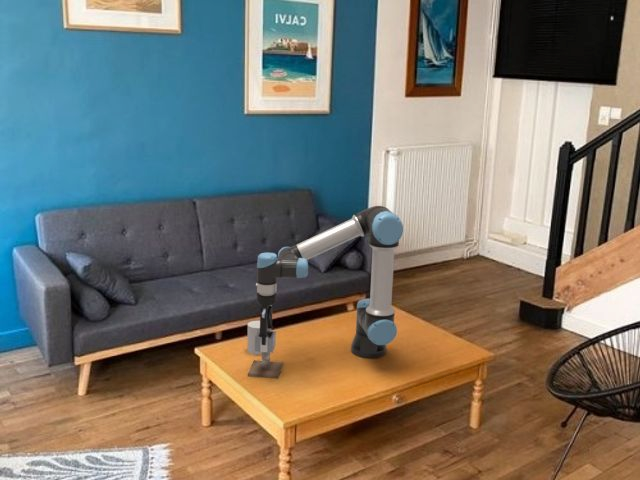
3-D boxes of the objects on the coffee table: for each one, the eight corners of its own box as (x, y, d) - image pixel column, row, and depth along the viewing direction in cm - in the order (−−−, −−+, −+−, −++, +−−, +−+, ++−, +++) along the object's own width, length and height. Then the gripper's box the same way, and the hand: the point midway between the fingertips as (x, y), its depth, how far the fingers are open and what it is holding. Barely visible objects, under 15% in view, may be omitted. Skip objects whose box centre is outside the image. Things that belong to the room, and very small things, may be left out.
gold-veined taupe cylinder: (263, 355, 284) (263, 329, 280) (244, 353, 285) (245, 326, 282) (268, 347, 291) (269, 321, 288) (250, 345, 293) (250, 319, 290)
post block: (282, 365, 275) (283, 341, 273) (278, 378, 264) (278, 354, 261) (253, 362, 277) (253, 339, 274) (247, 376, 265) (247, 352, 262)
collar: (275, 345, 271) (275, 331, 269) (272, 352, 264) (272, 338, 262) (258, 343, 271) (258, 330, 270) (254, 351, 265) (255, 336, 263)
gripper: (261, 283, 272) (261, 337, 278) (251, 300, 252) (251, 357, 258) (280, 285, 271) (279, 338, 277) (271, 302, 252) (270, 359, 258)
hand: (265, 347), depth 268 cm, fingers closed on collar, 7 cm apart
